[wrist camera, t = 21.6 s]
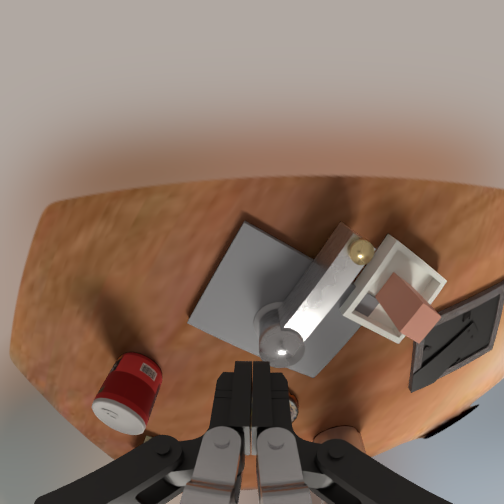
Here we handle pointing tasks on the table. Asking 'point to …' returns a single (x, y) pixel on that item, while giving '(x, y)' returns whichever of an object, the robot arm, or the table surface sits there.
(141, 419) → the canned food
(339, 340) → the crank plate
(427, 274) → the tray
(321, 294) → the crank
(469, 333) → the picture frame
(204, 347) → the table surface
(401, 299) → the block
